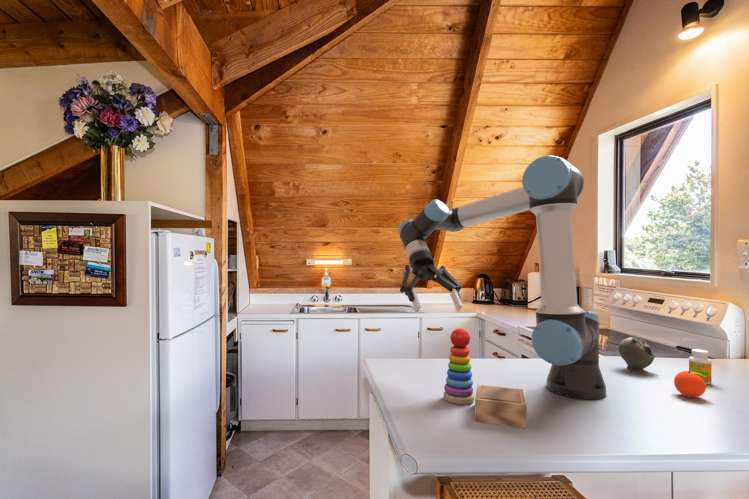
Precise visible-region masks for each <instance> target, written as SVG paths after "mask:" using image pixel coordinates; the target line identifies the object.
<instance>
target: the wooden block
mask: <svg viewBox="0 0 749 499" xmlns="http://www.w3.org/2000/svg"><path fill="white" fill-rule="evenodd" d="M474 397H475V398H474V412H475V413H474V422H477V423H478V422H479V423H484V424H485V423H486V424H491V425H492V424H493V425H494V424H495V425H501V426H508V427H517V428H524V429H527V402H526V396H525V392H524V389H522V388H521V389H520V388H514V387H513V388H511V387H503V386H492V385H484V384H477V385H476V390H475V396H474Z"/></svg>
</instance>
